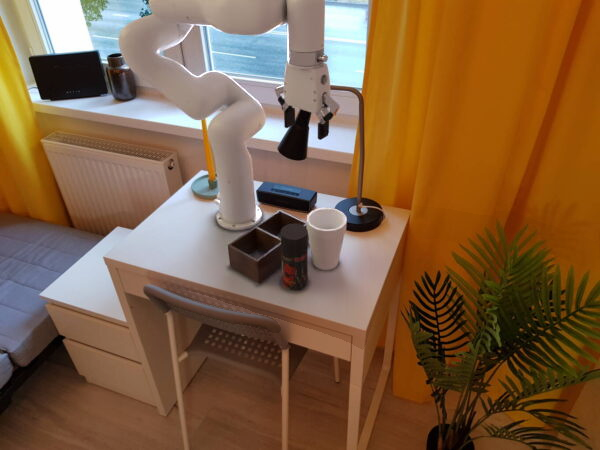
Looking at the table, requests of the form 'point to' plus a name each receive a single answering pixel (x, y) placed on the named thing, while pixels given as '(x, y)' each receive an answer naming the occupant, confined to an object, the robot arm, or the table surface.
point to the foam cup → (326, 236)
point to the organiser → (261, 247)
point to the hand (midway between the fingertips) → (306, 131)
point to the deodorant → (294, 256)
